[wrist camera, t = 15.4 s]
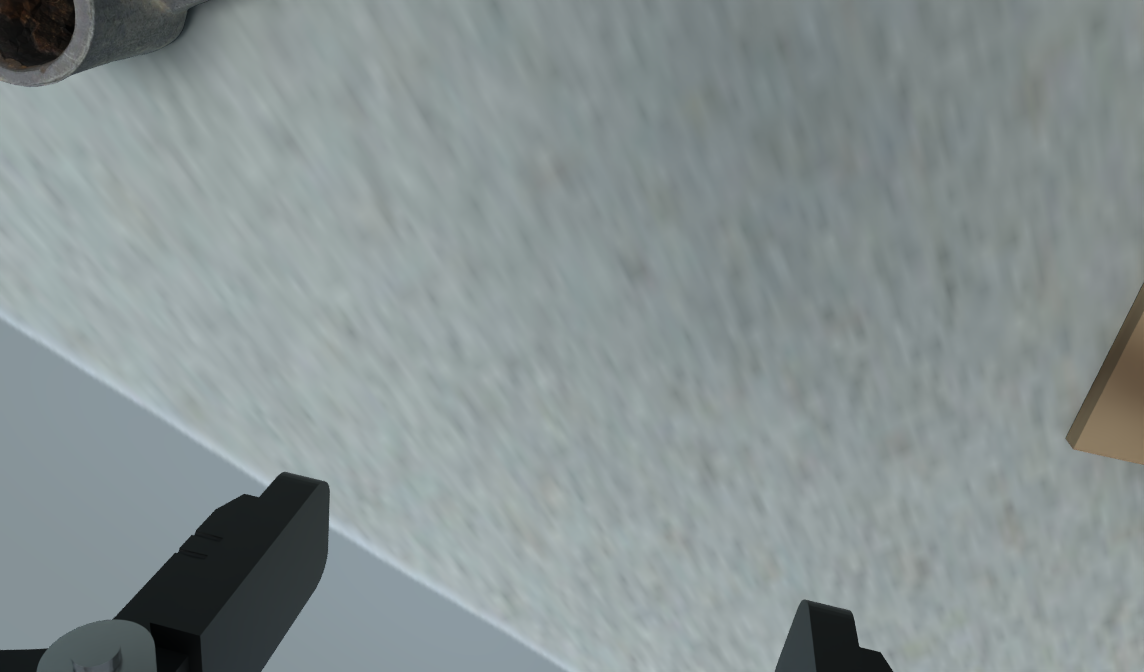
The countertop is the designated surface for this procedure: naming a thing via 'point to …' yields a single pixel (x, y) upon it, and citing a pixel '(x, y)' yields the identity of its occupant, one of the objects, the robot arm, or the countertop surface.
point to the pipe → (81, 35)
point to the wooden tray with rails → (1116, 397)
